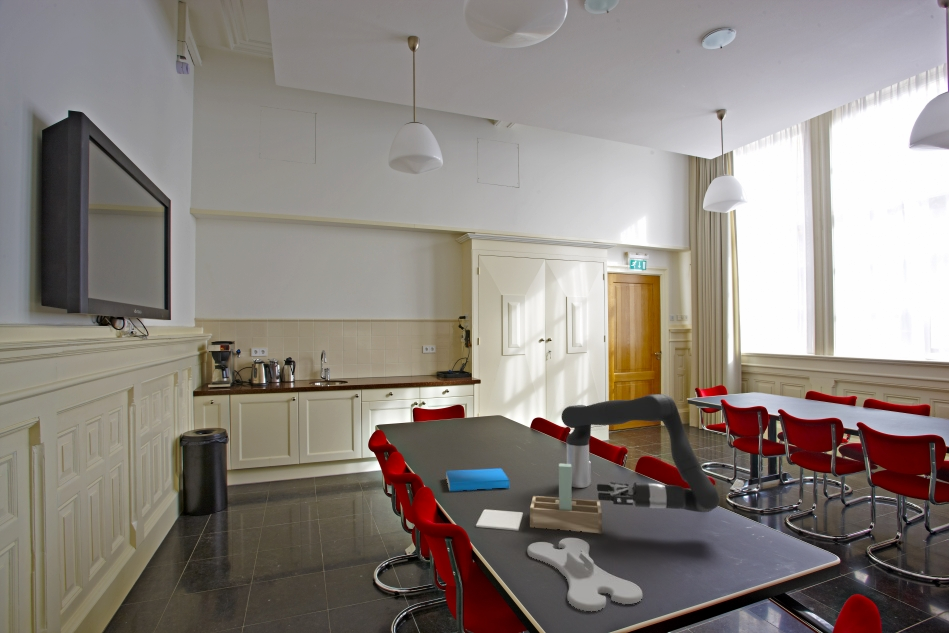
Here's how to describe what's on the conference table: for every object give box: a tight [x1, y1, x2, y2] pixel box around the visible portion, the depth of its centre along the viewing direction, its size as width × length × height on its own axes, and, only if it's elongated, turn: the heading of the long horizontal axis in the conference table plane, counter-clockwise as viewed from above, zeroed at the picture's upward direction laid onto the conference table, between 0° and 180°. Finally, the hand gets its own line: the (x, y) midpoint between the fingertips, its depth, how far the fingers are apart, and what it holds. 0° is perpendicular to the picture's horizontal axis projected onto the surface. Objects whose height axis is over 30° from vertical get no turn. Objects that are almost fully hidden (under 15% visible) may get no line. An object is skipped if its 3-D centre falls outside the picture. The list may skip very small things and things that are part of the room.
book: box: [445, 467, 510, 492], centre depth 198 cm, size 17×4×25 cm
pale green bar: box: [558, 463, 573, 511], centre depth 155 cm, size 4×4×20 cm
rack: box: [529, 495, 603, 534], centre depth 157 cm, size 12×23×6 cm, turn 78°
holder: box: [527, 537, 643, 613], centre depth 125 cm, size 19×34×5 cm, turn 16°
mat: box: [475, 509, 524, 531], centre depth 159 cm, size 14×14×1 cm
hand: (597, 491), depth 153 cm, fingers open, 8 cm apart
